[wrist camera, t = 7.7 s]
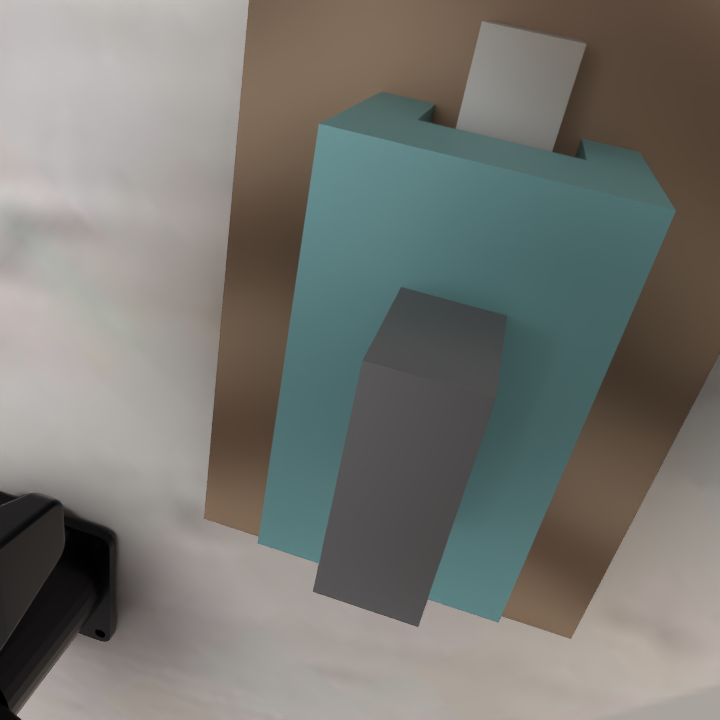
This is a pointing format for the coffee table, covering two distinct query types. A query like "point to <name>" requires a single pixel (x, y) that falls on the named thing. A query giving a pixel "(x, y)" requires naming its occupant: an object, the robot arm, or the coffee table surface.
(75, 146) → the coffee table surface
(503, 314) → the grooved box
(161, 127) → the coffee table surface
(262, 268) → the cleat board
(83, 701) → the coffee table surface
